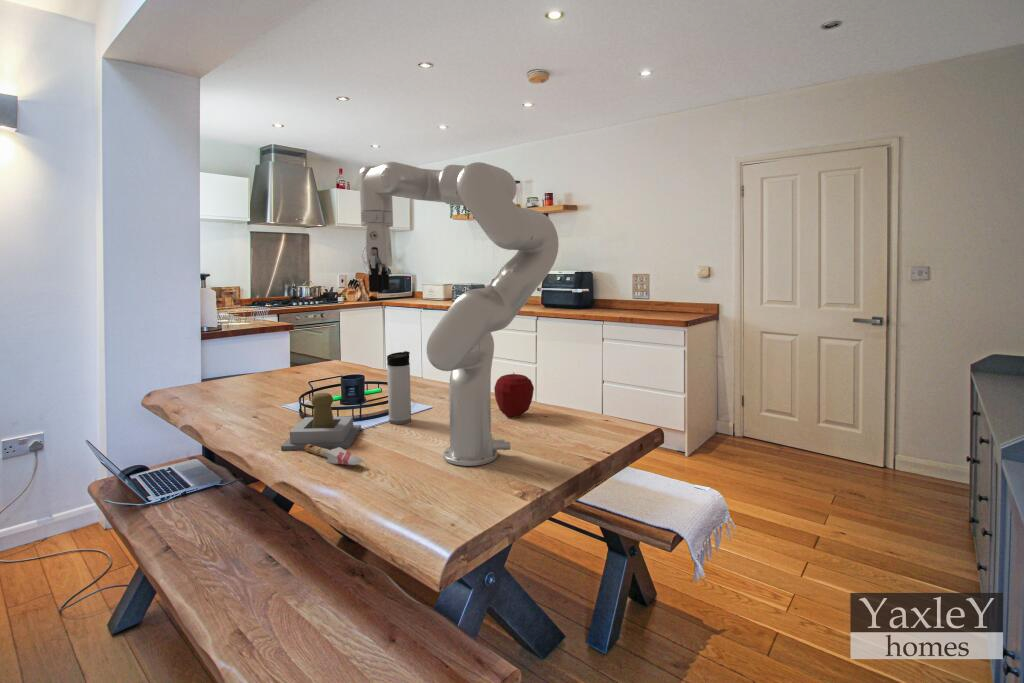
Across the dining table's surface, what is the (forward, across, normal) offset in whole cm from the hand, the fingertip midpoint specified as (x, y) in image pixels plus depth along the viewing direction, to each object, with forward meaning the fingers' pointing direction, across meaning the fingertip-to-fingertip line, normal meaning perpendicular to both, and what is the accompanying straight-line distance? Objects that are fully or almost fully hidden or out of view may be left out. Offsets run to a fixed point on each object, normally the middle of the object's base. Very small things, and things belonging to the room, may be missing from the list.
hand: (379, 290), depth 132 cm
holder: (+38, +2, +16) cm, 42 cm away
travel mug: (+38, +16, -2) cm, 42 cm away
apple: (+38, +19, -35) cm, 55 cm away
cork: (+38, +2, +16) cm, 41 cm away
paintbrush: (+39, -13, +10) cm, 42 cm away
